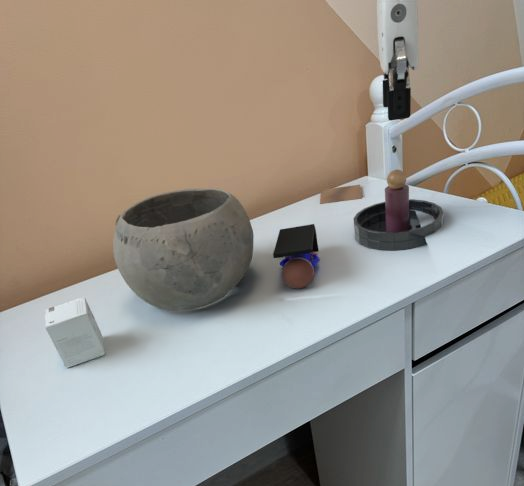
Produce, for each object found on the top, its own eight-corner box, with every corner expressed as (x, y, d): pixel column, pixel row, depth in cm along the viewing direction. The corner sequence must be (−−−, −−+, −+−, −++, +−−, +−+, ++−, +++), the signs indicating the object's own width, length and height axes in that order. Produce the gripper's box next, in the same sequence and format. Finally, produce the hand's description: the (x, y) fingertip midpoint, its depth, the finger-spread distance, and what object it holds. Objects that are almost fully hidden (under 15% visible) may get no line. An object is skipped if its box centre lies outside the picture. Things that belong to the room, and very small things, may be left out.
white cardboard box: (106, 355, 73) (87, 313, 69) (65, 369, 72) (43, 327, 68) (102, 336, 78) (85, 295, 74) (64, 349, 77) (44, 308, 73)
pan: (434, 212, 94) (435, 194, 92) (449, 246, 82) (450, 226, 80) (353, 222, 97) (352, 205, 95) (356, 257, 85) (355, 238, 83)
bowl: (288, 284, 81) (273, 194, 72) (160, 342, 73) (127, 249, 65) (224, 247, 98) (206, 171, 90) (116, 290, 91) (85, 212, 82)
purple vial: (407, 226, 90) (407, 164, 84) (410, 234, 87) (410, 172, 81) (385, 228, 91) (383, 168, 85) (387, 237, 88) (385, 175, 82)
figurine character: (285, 263, 91) (278, 295, 78) (278, 222, 87) (270, 249, 74) (321, 258, 90) (320, 291, 77) (316, 217, 86) (314, 243, 73)
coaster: (360, 186, 113) (360, 184, 113) (362, 200, 106) (361, 198, 106) (321, 191, 115) (320, 189, 115) (320, 205, 108) (319, 203, 107)
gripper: (433, -29, 60) (429, 120, 70) (415, -27, 74) (413, 98, 84) (370, -17, 62) (375, 128, 72) (364, -17, 76) (368, 105, 85)
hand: (395, 112), depth 78 cm, fingers open, 9 cm apart
